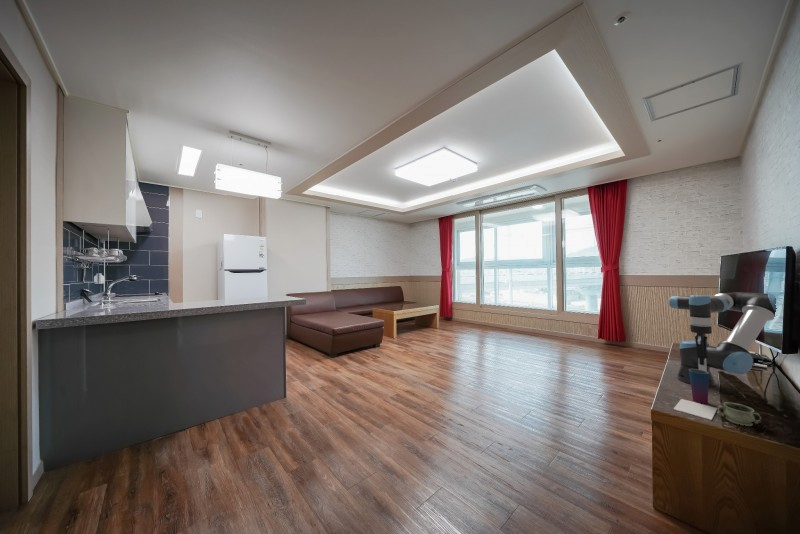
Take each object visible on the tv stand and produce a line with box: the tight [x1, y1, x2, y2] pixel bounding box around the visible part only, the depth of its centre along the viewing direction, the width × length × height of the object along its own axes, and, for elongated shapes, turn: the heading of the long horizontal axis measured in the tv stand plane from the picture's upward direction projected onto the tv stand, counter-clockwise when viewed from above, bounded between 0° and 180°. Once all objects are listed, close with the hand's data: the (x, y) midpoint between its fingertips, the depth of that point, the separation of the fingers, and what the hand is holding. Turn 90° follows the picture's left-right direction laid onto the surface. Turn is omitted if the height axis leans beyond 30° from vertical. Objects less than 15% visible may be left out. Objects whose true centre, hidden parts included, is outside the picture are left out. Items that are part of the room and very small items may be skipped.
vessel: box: [717, 401, 762, 427], centre depth 119 cm, size 12×9×6 cm
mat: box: [673, 398, 718, 421], centre depth 130 cm, size 16×12×1 cm
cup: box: [689, 369, 710, 405], centre depth 137 cm, size 7×7×15 cm
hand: (702, 370), depth 143 cm, fingers closed
